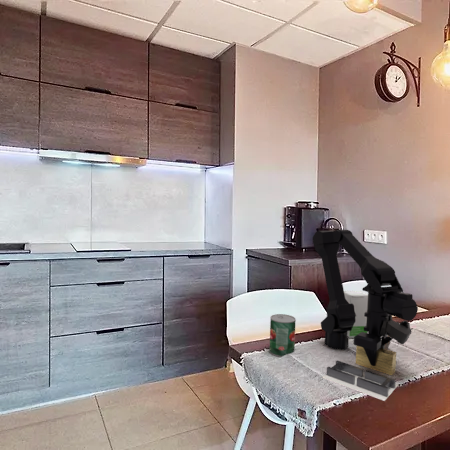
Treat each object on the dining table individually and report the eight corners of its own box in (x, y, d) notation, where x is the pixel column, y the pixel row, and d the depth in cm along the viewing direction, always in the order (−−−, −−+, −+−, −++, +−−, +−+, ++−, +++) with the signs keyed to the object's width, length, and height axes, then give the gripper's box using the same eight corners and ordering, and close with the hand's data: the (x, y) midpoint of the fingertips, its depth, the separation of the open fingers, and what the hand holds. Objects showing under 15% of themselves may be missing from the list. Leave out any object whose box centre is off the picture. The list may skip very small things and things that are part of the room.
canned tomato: (299, 356, 111) (300, 321, 110) (275, 358, 109) (277, 322, 108) (287, 346, 119) (288, 313, 118) (265, 348, 116) (266, 314, 116)
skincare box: (347, 338, 127) (349, 295, 126) (338, 332, 133) (340, 290, 132) (369, 337, 128) (371, 294, 127) (358, 331, 135) (360, 290, 134)
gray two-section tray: (326, 375, 97) (326, 367, 97) (336, 367, 102) (337, 360, 102) (386, 396, 86) (387, 388, 86) (395, 387, 91) (395, 379, 91)
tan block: (355, 365, 104) (356, 344, 104) (359, 361, 107) (360, 342, 106) (391, 376, 98) (392, 355, 97) (395, 373, 100) (396, 352, 100)
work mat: (321, 381, 95) (321, 377, 95) (339, 367, 104) (339, 364, 103) (384, 405, 85) (384, 400, 85) (398, 388, 93) (398, 384, 93)
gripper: (398, 324, 89) (394, 385, 90) (418, 309, 103) (415, 362, 104) (354, 314, 96) (351, 371, 97) (378, 301, 110) (375, 351, 111)
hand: (375, 363), depth 102 cm, fingers closed on tan block, 3 cm apart
